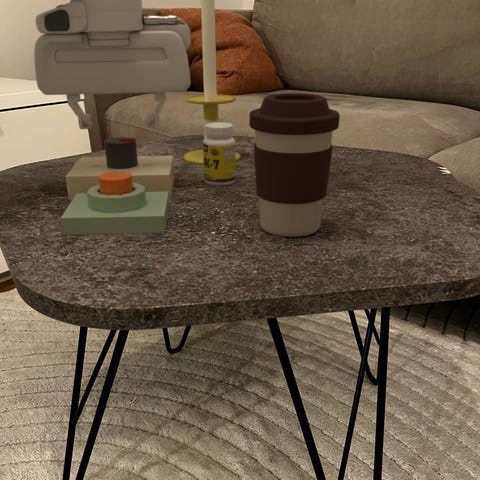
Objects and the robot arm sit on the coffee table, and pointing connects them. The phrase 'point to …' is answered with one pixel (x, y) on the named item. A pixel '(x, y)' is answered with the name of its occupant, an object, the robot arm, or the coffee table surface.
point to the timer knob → (121, 152)
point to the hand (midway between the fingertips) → (120, 127)
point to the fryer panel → (145, 173)
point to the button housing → (116, 212)
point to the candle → (208, 78)
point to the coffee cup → (292, 161)
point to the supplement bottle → (219, 154)
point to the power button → (115, 183)
